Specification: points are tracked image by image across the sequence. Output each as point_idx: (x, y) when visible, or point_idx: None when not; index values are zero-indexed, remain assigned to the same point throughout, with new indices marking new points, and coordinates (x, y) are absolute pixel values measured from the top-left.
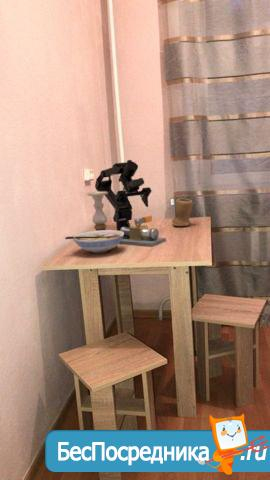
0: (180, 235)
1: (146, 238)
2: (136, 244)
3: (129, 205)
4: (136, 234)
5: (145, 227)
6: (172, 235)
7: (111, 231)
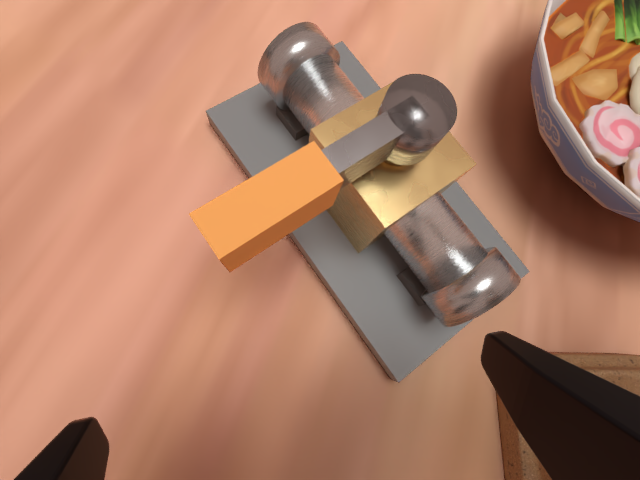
0: (22, 215)
1: None
2: None
3: (581, 377)
4: None
5: (340, 116)
6: (68, 255)
7: (608, 178)
